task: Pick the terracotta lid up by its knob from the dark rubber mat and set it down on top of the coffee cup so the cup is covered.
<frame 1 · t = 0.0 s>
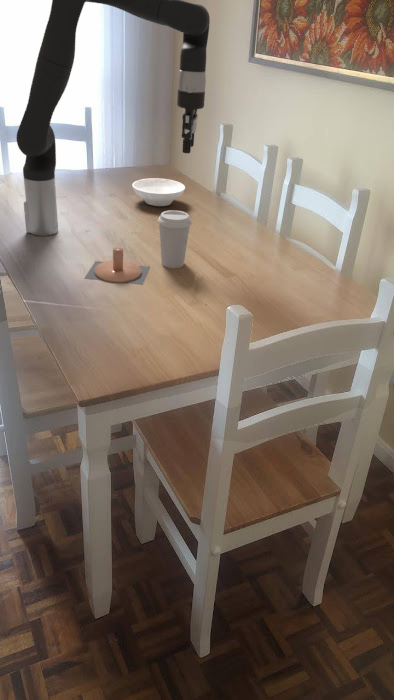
hand: (188, 149, 166), 29 cm above the table, fingers open, 8 cm apart
bowl: (158, 204, 215), on the table
coffee cup: (172, 265, 168), on the table
mat: (118, 273, 160), on the table
lid: (118, 272, 160), resting on mat
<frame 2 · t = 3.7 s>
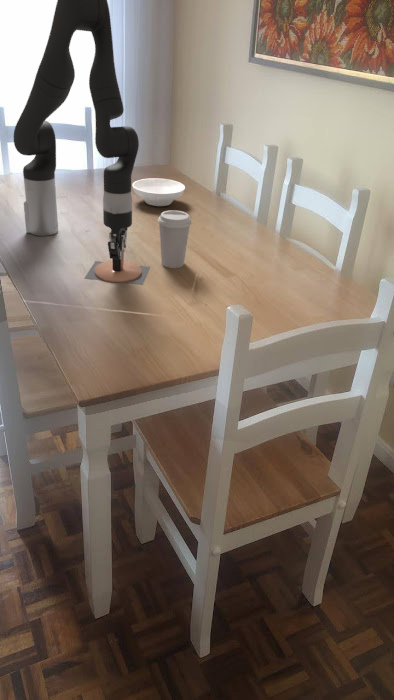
hand: (118, 267, 159), 2 cm above the table, fingers closed on lid, 2 cm apart
lid: (118, 272, 160), resting on mat, touching gripper
everything else where it was.
when the fingers open (18 cm above the table, at t = 8.2 s): lid drops 1 cm, resting on coffee cup.
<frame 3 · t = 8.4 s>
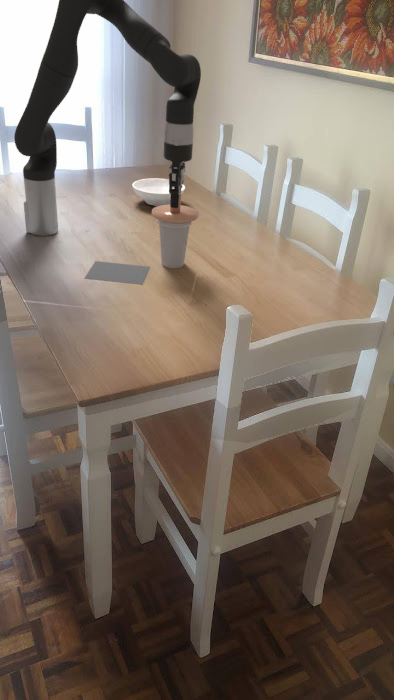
hand: (175, 204, 158), 18 cm above the table, fingers open, 4 cm apart
coffee cup: (172, 265, 168), on the table, touching lid
lid: (175, 214, 160), point 15 cm above the table, touching coffee cup
everything else where it was.
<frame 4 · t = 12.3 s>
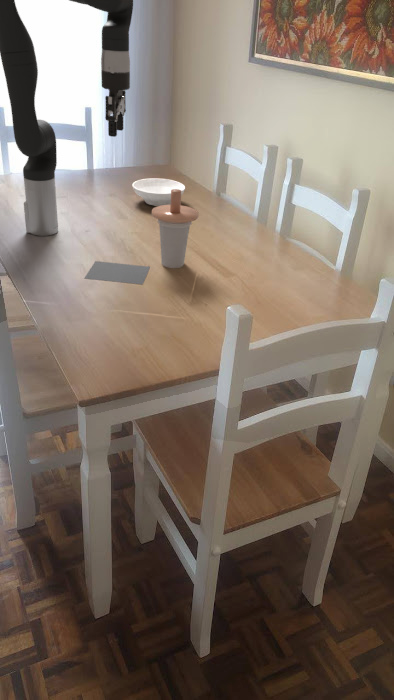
hand: (116, 133, 160), 33 cm above the table, fingers open, 8 cm apart
nothing on the table moved.
at the end: lid 0.1 cm from the coffee cup (horizontally); lid point 15.0 cm above the table; lid tilted 0° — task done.
